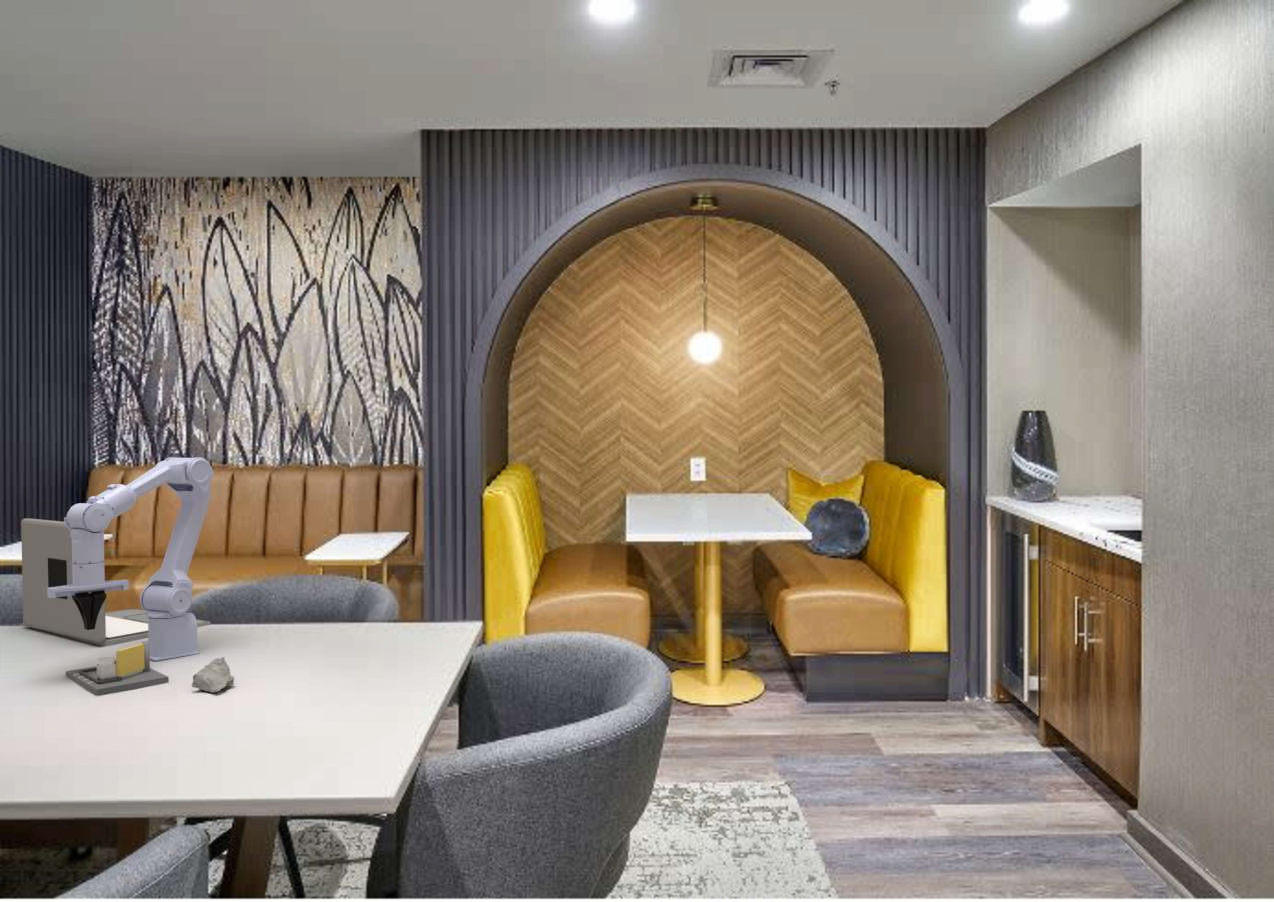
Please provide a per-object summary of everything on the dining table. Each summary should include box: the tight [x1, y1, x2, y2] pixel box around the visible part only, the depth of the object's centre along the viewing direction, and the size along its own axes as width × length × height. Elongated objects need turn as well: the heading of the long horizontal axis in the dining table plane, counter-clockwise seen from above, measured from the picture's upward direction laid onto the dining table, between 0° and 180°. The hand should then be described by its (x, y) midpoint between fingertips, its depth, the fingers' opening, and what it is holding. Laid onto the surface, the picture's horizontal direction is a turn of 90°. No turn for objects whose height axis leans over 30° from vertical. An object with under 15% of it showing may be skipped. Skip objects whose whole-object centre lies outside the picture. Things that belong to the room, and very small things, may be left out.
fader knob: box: [96, 656, 117, 681], centre depth 193 cm, size 3×2×4 cm
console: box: [65, 640, 170, 697], centre depth 198 cm, size 13×20×7 cm, turn 45°
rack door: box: [114, 643, 145, 677], centre depth 196 cm, size 2×7×5 cm, turn 166°
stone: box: [191, 656, 235, 693], centre depth 193 cm, size 6×12×4 cm, turn 177°
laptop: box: [20, 518, 211, 647], centre depth 244 cm, size 36×28×29 cm
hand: (89, 629), depth 200 cm, fingers closed
